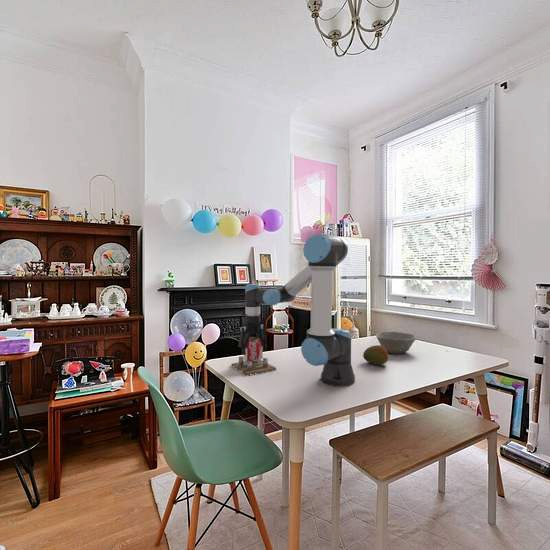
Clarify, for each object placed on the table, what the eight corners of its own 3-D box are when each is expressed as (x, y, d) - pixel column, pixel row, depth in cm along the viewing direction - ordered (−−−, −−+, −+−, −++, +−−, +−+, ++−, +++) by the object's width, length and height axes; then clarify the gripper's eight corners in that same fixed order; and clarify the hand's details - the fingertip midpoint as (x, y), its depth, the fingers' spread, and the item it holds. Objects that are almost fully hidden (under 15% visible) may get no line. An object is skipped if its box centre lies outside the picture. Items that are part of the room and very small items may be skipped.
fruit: (388, 368, 164) (388, 349, 164) (362, 366, 168) (362, 347, 168) (388, 362, 175) (388, 343, 175) (363, 360, 179) (364, 342, 179)
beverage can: (264, 361, 166) (264, 338, 166) (252, 365, 160) (252, 340, 160) (253, 358, 172) (253, 335, 171) (241, 362, 166) (241, 338, 165)
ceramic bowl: (367, 349, 201) (367, 333, 200) (396, 345, 210) (396, 330, 210) (395, 359, 181) (395, 341, 180) (424, 354, 190) (425, 337, 190)
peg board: (276, 370, 163) (275, 359, 163) (247, 375, 154) (247, 364, 154) (258, 361, 178) (258, 351, 178) (231, 366, 169) (231, 356, 169)
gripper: (266, 312, 174) (267, 354, 175) (230, 315, 163) (231, 360, 164) (274, 314, 168) (274, 358, 168) (237, 317, 157) (237, 364, 157)
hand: (253, 359), depth 166 cm, fingers closed on beverage can, 8 cm apart
